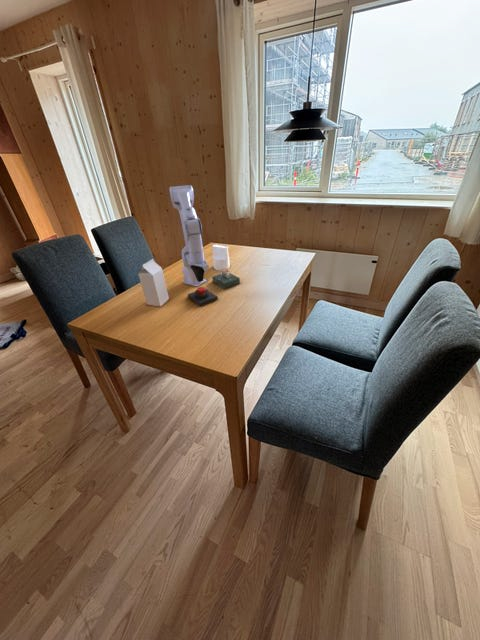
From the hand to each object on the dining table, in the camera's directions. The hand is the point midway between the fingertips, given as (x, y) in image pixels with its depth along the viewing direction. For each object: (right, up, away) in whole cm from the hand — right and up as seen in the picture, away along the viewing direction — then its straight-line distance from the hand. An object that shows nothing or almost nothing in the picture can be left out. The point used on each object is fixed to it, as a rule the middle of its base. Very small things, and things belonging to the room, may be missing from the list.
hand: (200, 280), depth 115 cm
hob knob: (+10, +4, +16) cm, 19 cm away
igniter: (0, -7, +5) cm, 9 cm away
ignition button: (0, -5, +3) cm, 6 cm away
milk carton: (-20, -9, +4) cm, 22 cm away
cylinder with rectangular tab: (+7, +13, +35) cm, 38 cm away
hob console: (+10, +2, +17) cm, 20 cm away
